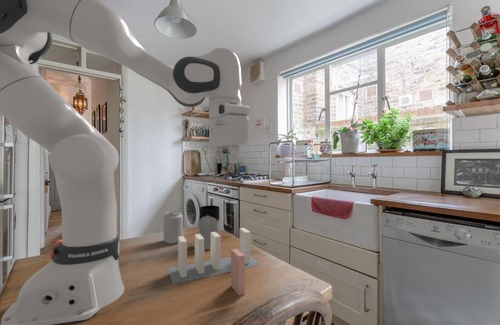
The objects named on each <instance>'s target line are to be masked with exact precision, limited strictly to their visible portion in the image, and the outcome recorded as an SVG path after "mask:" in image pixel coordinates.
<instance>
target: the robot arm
mask: <svg viewBox="0 0 500 325" xmlns="http://www.w3.org/2000/svg"><path fill="white" fill-rule="evenodd" d="M52 34H55V35H59V36H62V37H64V38H65V39H67V40H69V41H71V42H73V43H74V44H76V45H78V46H80V47H82V48H84V49H86V50H89V51H90V52H93V53H94V54H95V53H96V54H97V55H99V56H102V57H104V58H106V59H109V60H111V61H112V62H115V63H117V64H119V65H122V66H124V67H125V68H127V69H129V70H131V71H133V72H135V73H136V74H138V75H140V76H142V77H144V78H145V79H147V80H149V81H151V82H152V83H154V84H156V85H158V86H159V87H161V88H163V89H165V90H166V92H168V94H170V95H171V97H172V98H173V99H174V100H175V101H176V102H177V103H178V104H180V105H181V106H182V107H187V108H194V107H197V106H199V105H200V104H203V102H204V101H205V99H206V98H208V111H209V113H208V117H209V120H212V122H210V125H209V130H208V131H209V132H208V144H209V148H214V153H215V157H216V163H217V164H224V162H225V156H224V153H223V151H224V148H227V147H229V150H230V152H229V156H228V164H232V165H234V164H235V165H237V163H238V155H239V153H240V152H239V151H240V146H244V145H247V142H248V140H249V117H248V116H249V115H250V112H251V111H250V106H248V105H243V104H242V103H243V102H242V97H241V88H242V70H241V63H240V60H239V56H238V55H237V54H236V53H235V52H234V51H232V50H230V49H227V48H223V47H216V48H213V49H211V50H210V51H208V52H207V53H205V54H202V55H197V56H185V57H182V58H180V59H179V60H178V61H177V62H176V63H175V64H174V67H172V66H170V65H169V64H167V63H166V62H164V61H162V60H161V59H159V58H157V57H156V56H154V55H152V53H149V51H147V49H145V48H144V47H143V46H142V44H141V43H140V42H139V41H138V39H137V38H136V36H135V35H134V33H133V31H132V30H131V28H130V26H129V25H128V23H127V21H126V20H125V19H124V18H123V16H121V15H120V14H119V13H118V12H117V11H116V10H115V9H113V8H112V7H111V6H110V5H108V4H106V3H105V2H104V1H102V0H0V114H1V115H2V116H3V117H4V118H5V119H6V120H7V121H8V122H9V123H11V124H12V125H13V126H14V127H15V128H16V129H18V131H20V133H21V134H23V135H24V136H25V137H26V138H28V139H30V140H32V141H34V142H35V143H36V144H38V145H39V146H41V147H42V148H43V149H45V150H46V151H48V152H49V153H50V154H49V158H48V160H49V166H50V168H51V170H52V171H53V174H54V179H55V185H56V190H57V194H58V199H59V203H60V209H61V234H62V235H61V238H62V239H58V240H56V241H55V242H54V243H53V244H52V248H51V251H50V252H49V253H50V254H49V256H50V257H49V258H51V260H50V261H49V262H48V263H47V264H46V265H44V266H43V267H42V268H40V269H39V270H37V271H36V272H34V274H32V275H31V276H30V277H29V278H28V279H27V280H26V281H25V282H24V284H23V285H22V286H21V288H20V291H19V293H18V296H17V298H16V299H17V300H15V301H14V302H13V303H12V304H11V305H10V306H9V307H8V308H7V309H6V310H5V312H4V313H3V315H2V316H1V320H0V325H59V324H65V323H73V322H78V321H79V322H80V321H85V320H88V319H90V318H91V317H93V316H94V315H95V314H97V313H98V311H100V310H101V309H103V308H105V307H107V306H109V305H111V304H112V303H114V302H115V301H117V300H118V299H119V298H120V297H121V296H123V295H124V292H125V285H124V282H123V279H122V275H121V270H120V264H119V258H120V254H121V253H120V246H121V245H120V242H121V241H120V237H119V234H118V219H117V218H118V213H117V212H118V209H117V208H118V206H117V205H118V203H117V198H116V197H117V196H116V188H115V175H114V173H115V171H116V170H117V168H118V165H119V162H120V156H119V152H118V150H117V148H116V147H115V145H113V144H112V143H111V142H110V141H109V140H108V139H107V138H106V137H105V136H104V135H103V133H101V132H99V130H97V129H96V128H95V127H94V125H92V124H91V123H90V121H88V120H87V119H86V118H85V117H84V116H83V115H82V114H81V113H79V111H78V110H76V109H75V108H74V106H72V105H71V104H70V103H69V102H68V101H67V100H66V99H65V98H64V97H63V96H62V95H61V94H60V93H59V92H58V91H57V90H56V89H55V88H54V87H53V86H52V85H51V84H50V82H49V81H47V80H46V79H45V78H44V77H43V76H42V74H40V73H39V72H38V71H37V70H36V69H35V68H34V67H33V66H32V65H33V64H34V65H35V64H36V63H38V61H39V60H40V58H41V57H43V56H44V55H45V54H46V53H48V51H49V50H50V48H51V46H52V44H53V38H52Z"/></svg>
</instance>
